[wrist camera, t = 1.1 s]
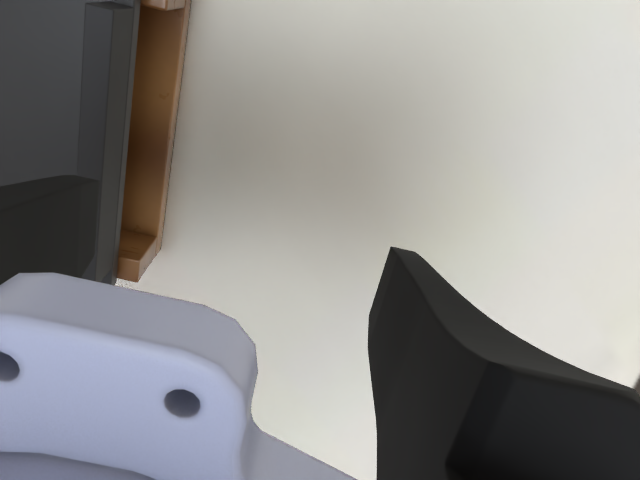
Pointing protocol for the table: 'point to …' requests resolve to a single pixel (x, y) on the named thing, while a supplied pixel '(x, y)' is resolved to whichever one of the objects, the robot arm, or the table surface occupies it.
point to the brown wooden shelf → (151, 131)
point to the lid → (70, 102)
